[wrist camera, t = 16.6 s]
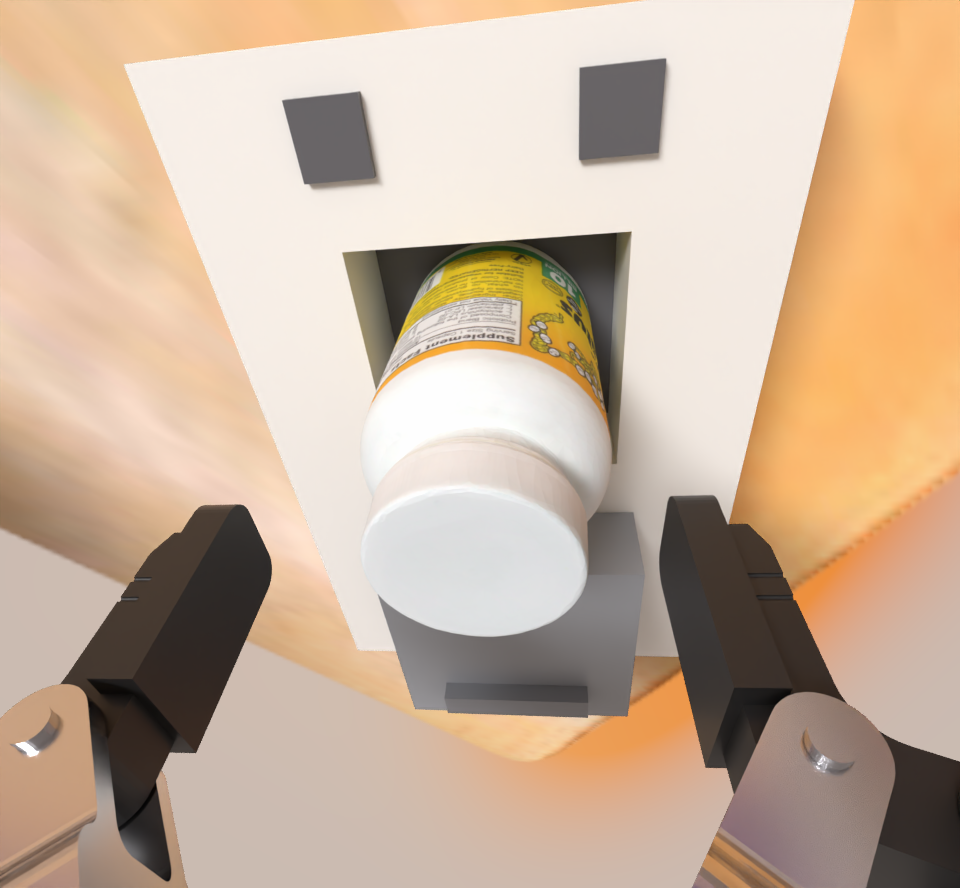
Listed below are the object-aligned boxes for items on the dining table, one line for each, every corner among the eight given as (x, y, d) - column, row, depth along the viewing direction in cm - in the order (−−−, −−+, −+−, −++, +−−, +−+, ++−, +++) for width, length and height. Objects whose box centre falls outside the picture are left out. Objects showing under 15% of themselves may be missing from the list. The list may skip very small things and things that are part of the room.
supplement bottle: (392, 254, 16) (263, 469, 9) (580, 219, 15) (621, 427, 8) (439, 407, 19) (374, 663, 12) (597, 387, 18) (637, 653, 11)
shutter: (425, 650, 24) (412, 724, 21) (388, 514, 19) (365, 590, 16) (620, 654, 23) (629, 733, 20) (633, 512, 18) (648, 591, 15)
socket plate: (374, 593, 26) (356, 654, 24) (194, 55, 14) (117, 65, 11) (681, 595, 25) (697, 661, 22) (797, -19, 12) (866, -27, 10)
